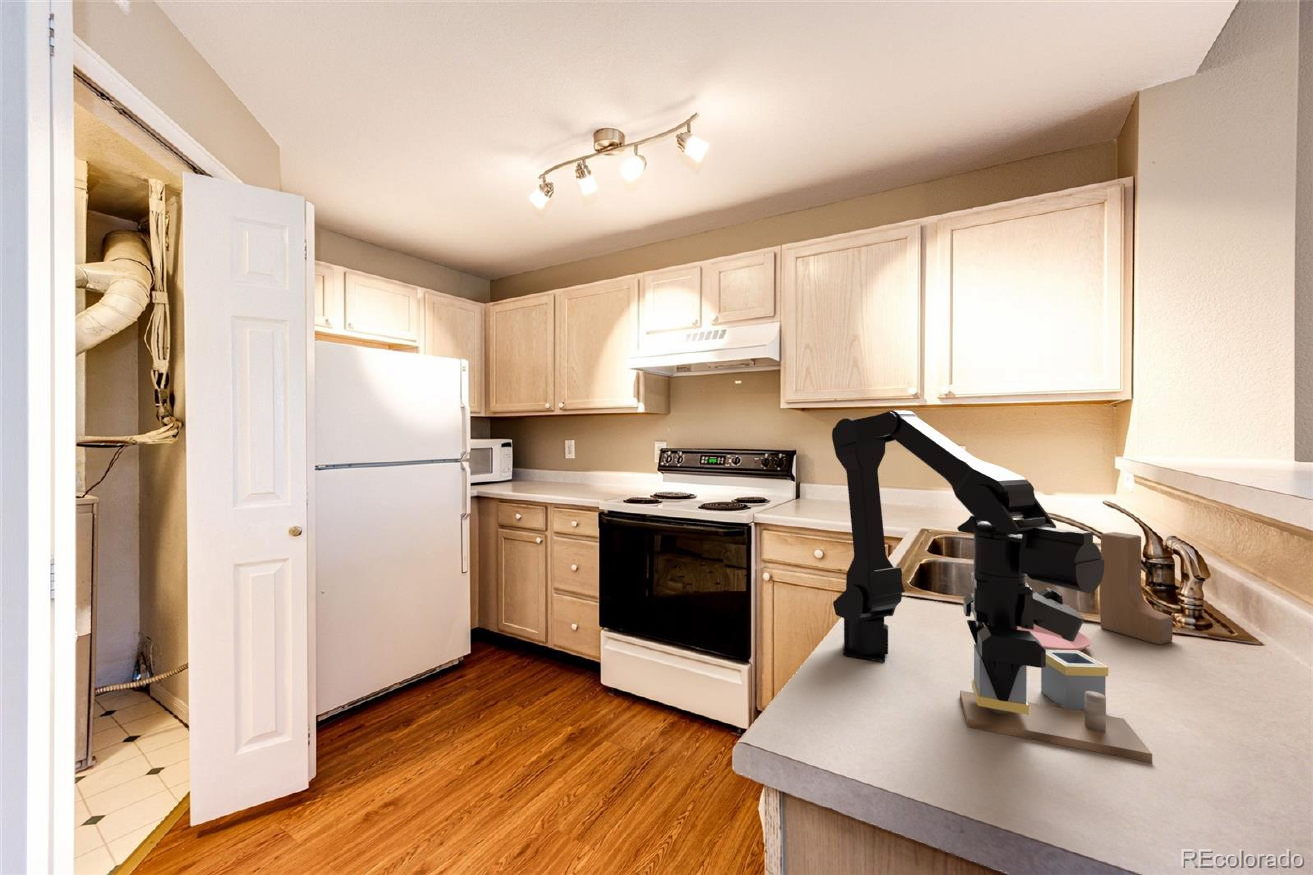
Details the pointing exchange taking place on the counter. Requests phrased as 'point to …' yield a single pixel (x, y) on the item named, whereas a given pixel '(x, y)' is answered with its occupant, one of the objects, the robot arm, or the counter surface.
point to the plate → (1058, 640)
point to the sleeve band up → (1071, 678)
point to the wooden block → (1128, 592)
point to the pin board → (1062, 726)
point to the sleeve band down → (987, 695)
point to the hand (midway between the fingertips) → (998, 691)
